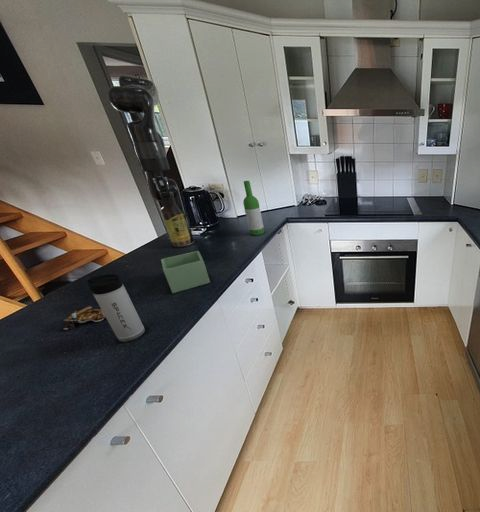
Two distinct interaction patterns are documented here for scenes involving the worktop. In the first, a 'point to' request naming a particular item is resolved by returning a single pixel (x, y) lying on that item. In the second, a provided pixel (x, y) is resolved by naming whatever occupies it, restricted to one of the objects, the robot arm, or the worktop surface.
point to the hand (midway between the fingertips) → (169, 205)
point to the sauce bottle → (175, 223)
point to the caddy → (185, 271)
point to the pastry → (84, 316)
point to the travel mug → (116, 306)
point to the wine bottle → (252, 211)
